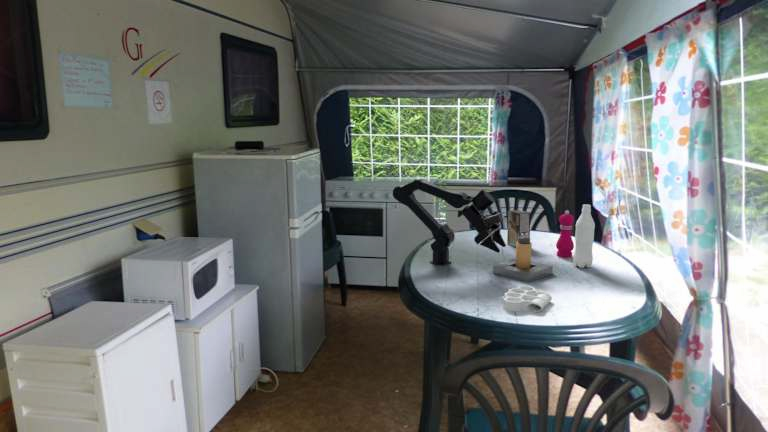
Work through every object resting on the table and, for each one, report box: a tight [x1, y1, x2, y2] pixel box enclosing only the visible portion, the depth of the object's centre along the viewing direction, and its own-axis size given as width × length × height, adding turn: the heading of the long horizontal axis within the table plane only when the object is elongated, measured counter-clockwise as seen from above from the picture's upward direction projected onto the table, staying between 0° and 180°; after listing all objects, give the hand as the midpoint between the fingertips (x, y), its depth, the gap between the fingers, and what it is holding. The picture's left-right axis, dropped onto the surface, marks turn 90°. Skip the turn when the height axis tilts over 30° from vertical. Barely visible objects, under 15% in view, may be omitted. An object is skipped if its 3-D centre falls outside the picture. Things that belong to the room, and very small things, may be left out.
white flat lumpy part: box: [499, 285, 553, 313], centre depth 171 cm, size 3×18×15 cm
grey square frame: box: [492, 257, 554, 283], centre depth 203 cm, size 16×16×3 cm
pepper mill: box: [555, 209, 575, 259], centre depth 225 cm, size 7×7×20 cm
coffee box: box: [506, 209, 532, 248], centre depth 244 cm, size 9×6×16 cm
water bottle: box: [572, 203, 596, 269], centre depth 209 cm, size 7×7×25 cm
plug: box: [515, 233, 533, 270], centre depth 202 cm, size 6×6×16 cm
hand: (502, 249), depth 205 cm, fingers open, 9 cm apart
